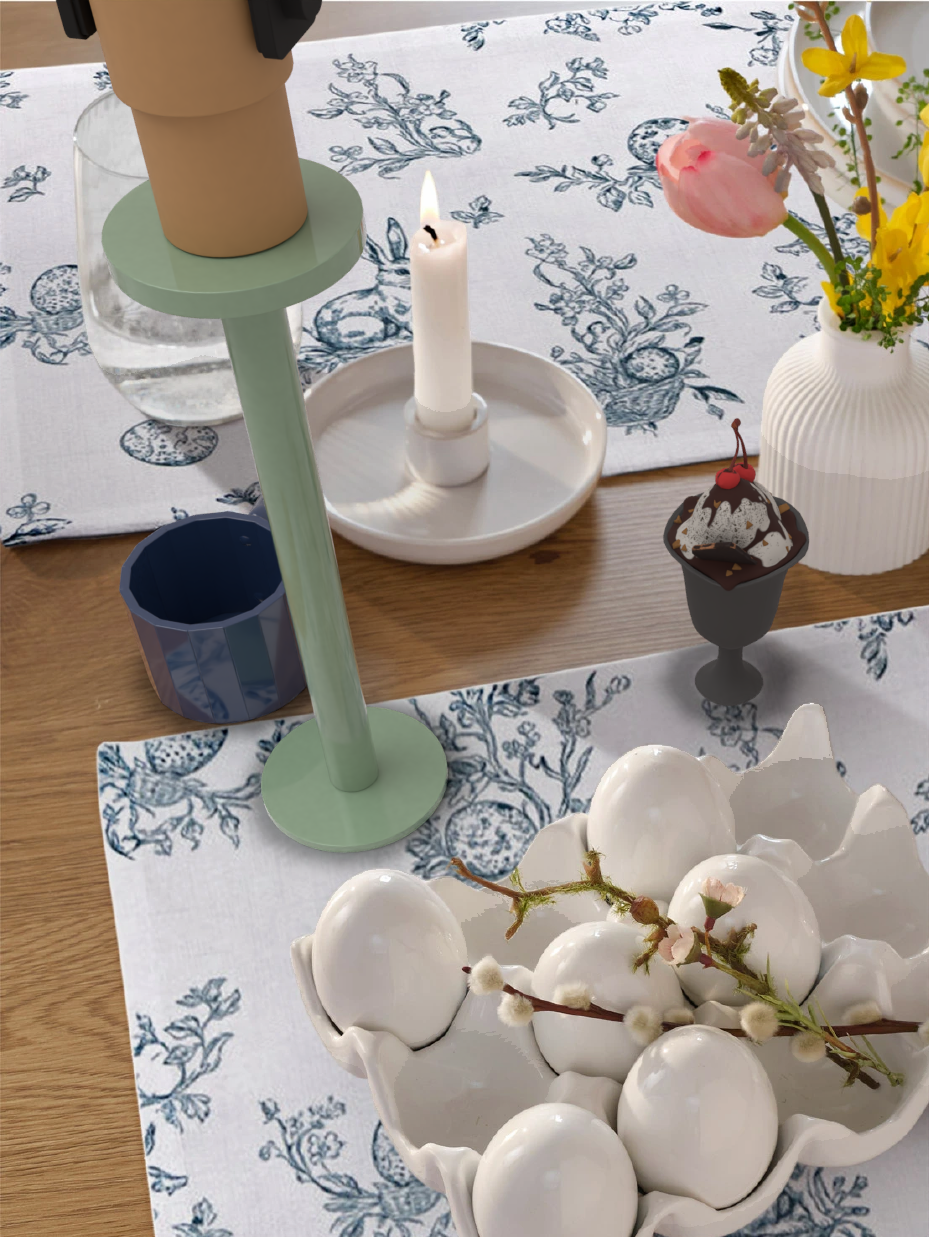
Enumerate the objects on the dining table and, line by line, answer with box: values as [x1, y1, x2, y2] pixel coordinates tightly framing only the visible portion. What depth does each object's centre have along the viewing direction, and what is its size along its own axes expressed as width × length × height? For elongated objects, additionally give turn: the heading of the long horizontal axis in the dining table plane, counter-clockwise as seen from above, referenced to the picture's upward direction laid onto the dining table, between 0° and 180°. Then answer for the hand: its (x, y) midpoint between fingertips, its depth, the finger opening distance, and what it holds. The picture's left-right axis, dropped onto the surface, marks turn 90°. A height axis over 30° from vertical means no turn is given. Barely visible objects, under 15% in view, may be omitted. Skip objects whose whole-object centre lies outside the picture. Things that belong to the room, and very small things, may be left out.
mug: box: [118, 493, 308, 725], centre depth 83 cm, size 12×9×7 cm
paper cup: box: [89, 0, 308, 257], centre depth 51 cm, size 6×6×11 cm
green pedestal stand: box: [100, 156, 449, 854], centre depth 67 cm, size 9×9×30 cm
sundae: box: [662, 417, 810, 707], centre depth 77 cm, size 7×7×15 cm
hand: (192, 24), depth 51 cm, fingers closed on paper cup, 5 cm apart
